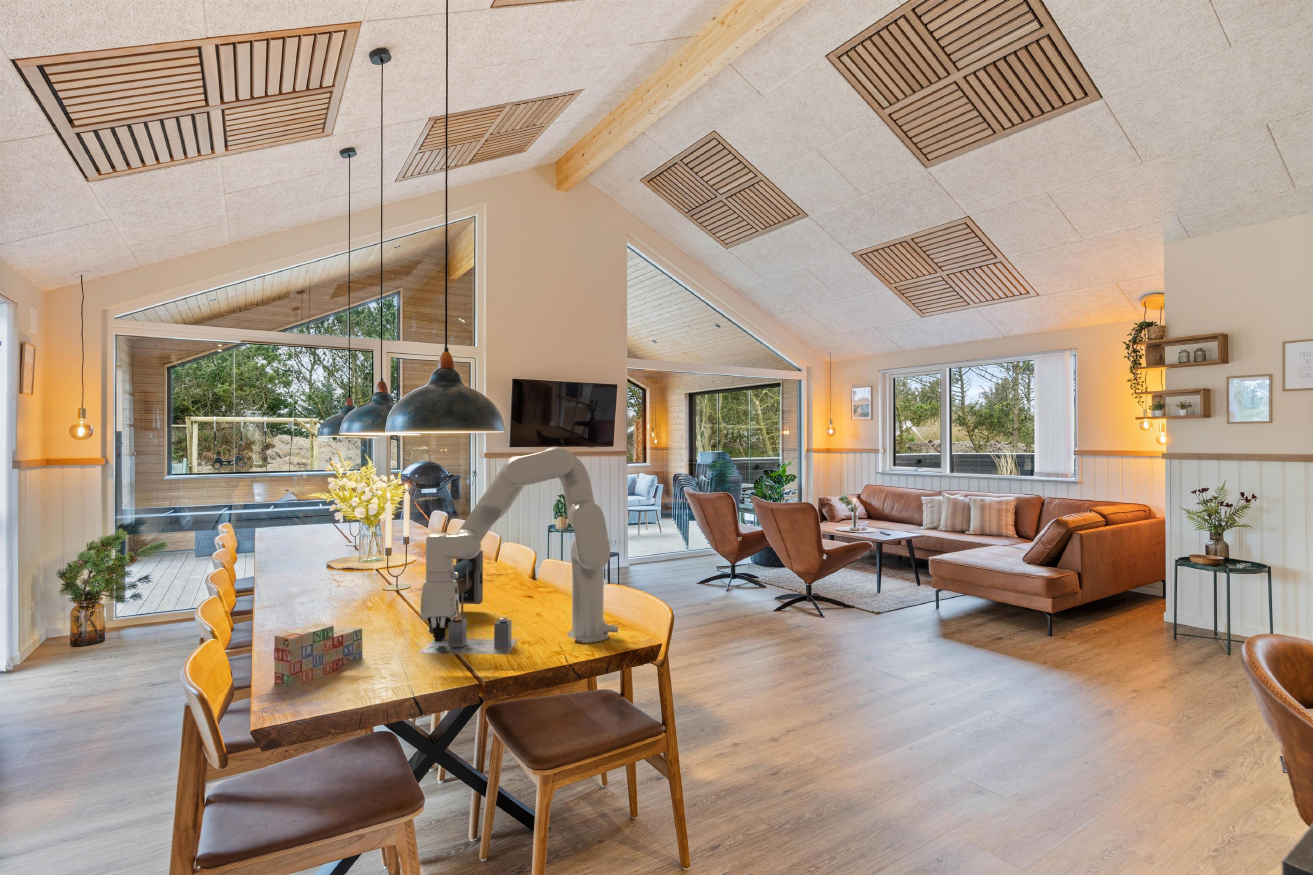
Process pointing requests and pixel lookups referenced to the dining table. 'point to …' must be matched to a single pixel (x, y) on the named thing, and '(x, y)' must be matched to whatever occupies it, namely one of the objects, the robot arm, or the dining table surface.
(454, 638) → the block
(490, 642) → the hole plate
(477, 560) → the curved pipe assembly
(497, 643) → the fixed leg
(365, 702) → the dining table surface
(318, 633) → the stack of blocks
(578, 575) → the robot arm
